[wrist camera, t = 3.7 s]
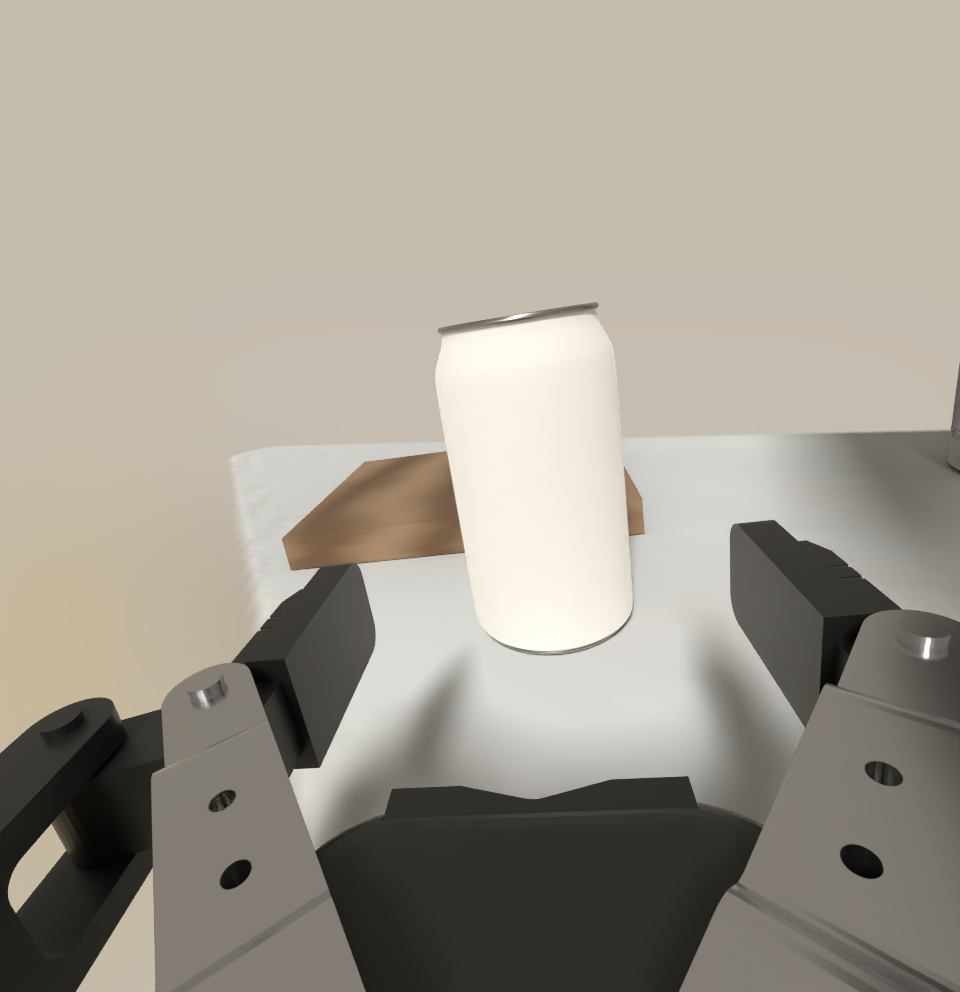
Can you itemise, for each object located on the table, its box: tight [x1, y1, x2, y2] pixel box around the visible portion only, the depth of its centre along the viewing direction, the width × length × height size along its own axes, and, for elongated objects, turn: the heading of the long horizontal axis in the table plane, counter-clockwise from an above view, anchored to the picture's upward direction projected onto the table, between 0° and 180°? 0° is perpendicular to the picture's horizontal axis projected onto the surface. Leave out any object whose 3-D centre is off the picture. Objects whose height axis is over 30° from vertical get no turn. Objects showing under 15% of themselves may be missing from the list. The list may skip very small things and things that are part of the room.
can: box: [435, 303, 633, 655], centre depth 21 cm, size 6×6×12 cm
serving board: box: [282, 451, 644, 570], centre depth 37 cm, size 20×16×2 cm
